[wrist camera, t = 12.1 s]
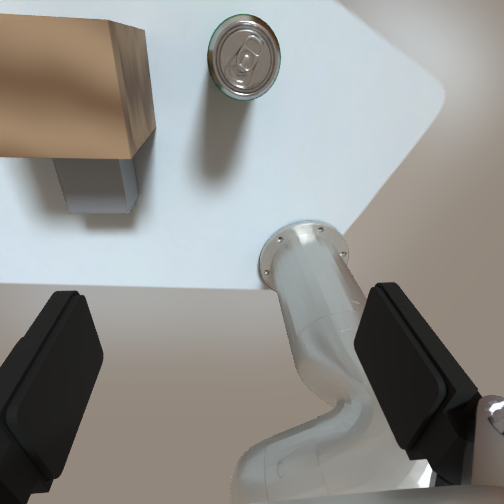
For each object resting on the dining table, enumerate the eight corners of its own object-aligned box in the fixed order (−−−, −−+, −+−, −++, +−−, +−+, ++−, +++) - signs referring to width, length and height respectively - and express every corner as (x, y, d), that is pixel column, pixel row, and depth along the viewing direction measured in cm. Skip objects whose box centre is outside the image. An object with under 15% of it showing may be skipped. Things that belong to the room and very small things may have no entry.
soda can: (201, 65, 30) (192, 73, 20) (227, 12, 28) (232, -9, 18) (244, 96, 32) (256, 117, 22) (272, 48, 30) (298, 47, 20)
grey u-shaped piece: (138, 194, 37) (128, 213, 33) (86, 194, 36) (69, 213, 32) (116, 56, 29) (99, 57, 25) (49, 53, 29) (20, 54, 25)
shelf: (156, 127, 33) (130, 159, 24) (36, 124, 32) (-42, 156, 22) (144, 30, 29) (107, 19, 19) (4, 22, 27) (-111, 7, 18)
